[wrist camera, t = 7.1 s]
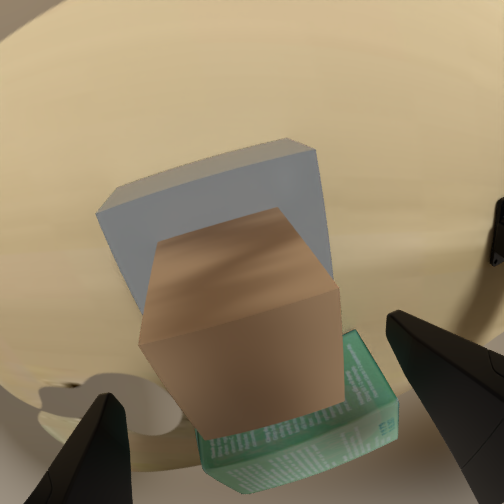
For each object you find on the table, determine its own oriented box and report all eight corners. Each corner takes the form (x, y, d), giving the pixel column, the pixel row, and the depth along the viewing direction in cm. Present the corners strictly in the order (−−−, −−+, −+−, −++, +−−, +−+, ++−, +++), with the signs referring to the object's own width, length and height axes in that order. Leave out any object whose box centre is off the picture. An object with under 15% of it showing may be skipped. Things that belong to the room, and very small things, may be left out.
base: (287, 137, 15) (315, 149, 12) (312, 282, 20) (337, 321, 16) (117, 187, 15) (95, 213, 11) (174, 322, 19) (173, 368, 16)
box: (190, 392, 22) (197, 477, 16) (354, 323, 22) (402, 398, 16) (230, 431, 26) (243, 500, 19) (365, 375, 26) (401, 438, 19)
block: (277, 206, 13) (339, 287, 7) (296, 303, 15) (344, 401, 10) (157, 242, 12) (137, 345, 7) (196, 332, 15) (205, 440, 9)
